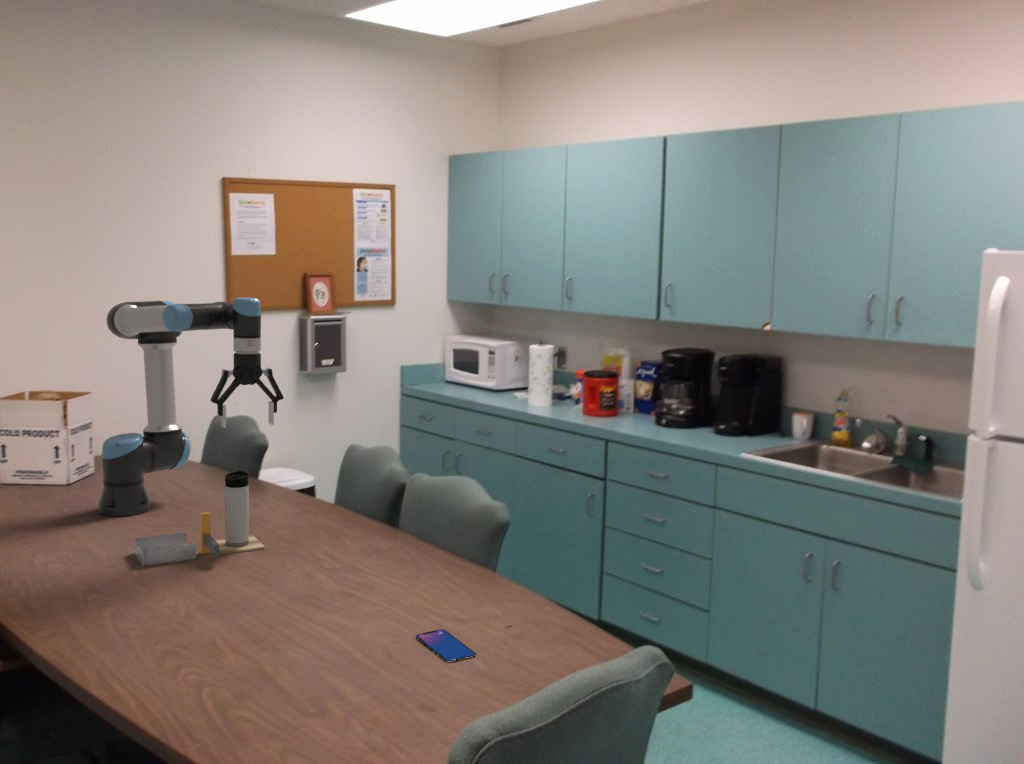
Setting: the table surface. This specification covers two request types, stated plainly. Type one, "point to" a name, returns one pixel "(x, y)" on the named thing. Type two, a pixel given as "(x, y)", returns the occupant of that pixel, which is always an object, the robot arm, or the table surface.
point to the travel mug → (236, 509)
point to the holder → (164, 549)
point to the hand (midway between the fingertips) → (247, 425)
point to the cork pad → (252, 545)
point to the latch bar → (207, 536)
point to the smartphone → (445, 645)
